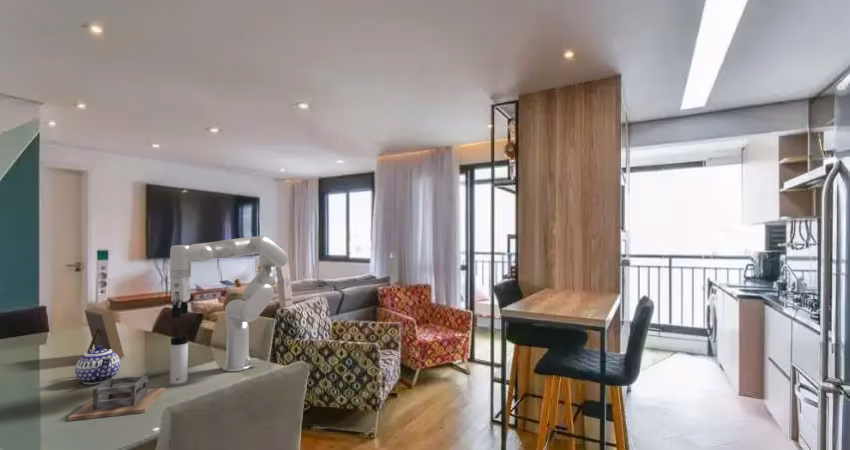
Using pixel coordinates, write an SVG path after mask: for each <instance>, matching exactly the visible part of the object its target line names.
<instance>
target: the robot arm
mask: <svg viewBox="0 0 850 450" xmlns="http://www.w3.org/2000/svg"><path fill="white" fill-rule="evenodd" d="M250 255H259V257H258V261H259V271H258V273H257V274H256V275H255V277H253V279H252V280H251V281H249V283H248V284H247V285H246V287H244V289H243V291H242V297H243V299H233V300H230V301H229V302H228V303H227V304H226V305H225V308H224V309H225V310H224V317H225V318H224V319H225V322H226V323H225V324H226V350H225V351H226V354H225V356H226V361H225V364H224V365H222V371H224V372H241V371H245V370H248V369H250V368H252V366H253V364H255V363H259V362H260V361H259V358H257V357H253V358H252V357H251V355H249V349H250V348H249V347H250V346H249V345H250V343H249V342H250V327H249V323H251V322H254V321H255V320H257V318H258V317H259V316H260V315H261V314H262V313H263V311H264V310H265V309H266V308H267V306H268V305H269V304H270V303H271V301H272V300H273V297H274V292H275V291H274V287H273V286H272V284H273V283H274V282H275V279H276V275H277V272H276V268H282V267H285V265H287V263H288V261H289V256H288V254H287V253H286V251H285V250H284V249H283V248H281V247H280V246H279V245H278V244H276V243H275V242H274V241H273V240H271V239H270V238H268V237H266V236H262V235H261V236H247V237H240V238H238V237H237V238H233V239H232V238H231V239H230V238H229V239H223V240H218V241H210V242H202V243H194V244H193V243H192V244H190V245H187V244H182V245H181V244H178V245H175V244H174V245H172V246H171V247H170V255H169V257H170V259H169V262H170V263H169V266H170V267H169V268H170V269H169V279H172V280H171V291H170V292H171V293H170V294H171V295H170V297H171V298H170V299H171V300H170V301H171V318H172V319H176V318H179V319H180V318H182V314H188V313H189V306H188V305H189V300H190V299H191V281H190V278H192V277H191V276H192V262H197V263H201V262H203V263H205V262H208V261H209V260H211V259H231V258H237V257H243V256H250Z"/></svg>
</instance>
